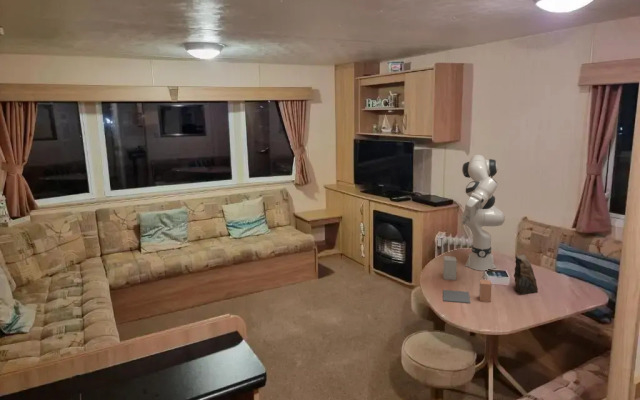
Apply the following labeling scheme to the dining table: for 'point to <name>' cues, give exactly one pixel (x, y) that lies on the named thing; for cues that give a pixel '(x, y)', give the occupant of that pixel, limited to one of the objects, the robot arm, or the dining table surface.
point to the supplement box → (449, 268)
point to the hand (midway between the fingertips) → (462, 220)
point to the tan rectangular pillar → (485, 290)
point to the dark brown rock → (524, 276)
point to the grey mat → (456, 296)
